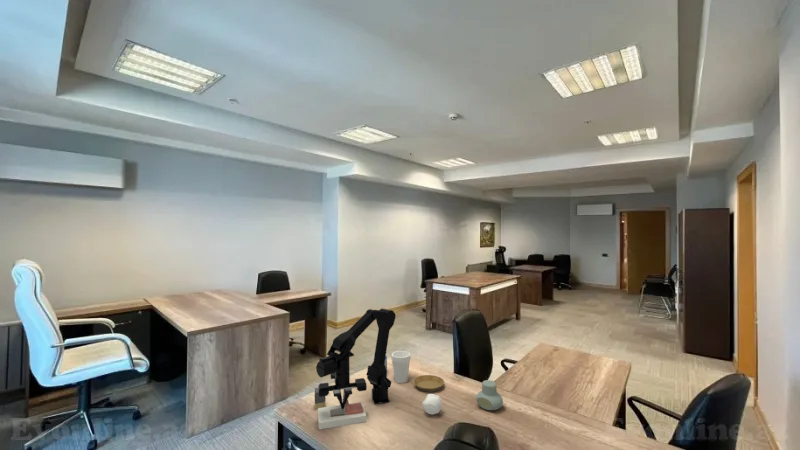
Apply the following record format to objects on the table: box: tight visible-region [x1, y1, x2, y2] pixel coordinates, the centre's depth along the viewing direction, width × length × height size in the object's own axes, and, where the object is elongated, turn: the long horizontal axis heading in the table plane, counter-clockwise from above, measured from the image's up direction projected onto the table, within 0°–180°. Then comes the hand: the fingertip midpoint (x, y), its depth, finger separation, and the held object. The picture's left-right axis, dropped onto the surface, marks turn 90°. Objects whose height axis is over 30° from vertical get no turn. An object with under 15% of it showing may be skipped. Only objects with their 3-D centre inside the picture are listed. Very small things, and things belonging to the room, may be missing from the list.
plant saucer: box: [412, 374, 445, 393], centre depth 161 cm, size 15×15×3 cm
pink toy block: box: [345, 399, 363, 415], centre depth 135 cm, size 6×6×3 cm
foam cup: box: [390, 350, 411, 384], centre depth 168 cm, size 10×9×13 cm
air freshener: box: [475, 379, 504, 411], centre depth 141 cm, size 11×8×10 cm
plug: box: [314, 387, 327, 410], centre depth 144 cm, size 4×4×7 cm
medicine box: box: [385, 355, 388, 371], centre depth 175 cm, size 8×4×9 cm, turn 168°
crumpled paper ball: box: [421, 393, 443, 415], centre depth 137 cm, size 8×8×8 cm
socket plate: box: [317, 401, 367, 430], centre depth 134 cm, size 18×11×2 cm, turn 105°
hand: (342, 408), depth 134 cm, fingers closed
